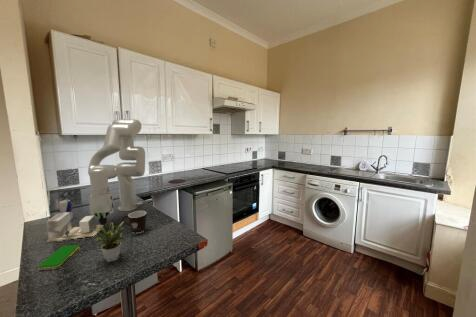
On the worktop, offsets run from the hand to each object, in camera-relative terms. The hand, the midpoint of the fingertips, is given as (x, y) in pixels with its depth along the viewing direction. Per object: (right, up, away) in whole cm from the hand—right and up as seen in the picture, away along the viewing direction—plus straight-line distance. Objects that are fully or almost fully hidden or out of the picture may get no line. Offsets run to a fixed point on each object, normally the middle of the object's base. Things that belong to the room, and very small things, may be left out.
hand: (103, 224), depth 108 cm
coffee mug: (+18, -4, 0) cm, 18 cm away
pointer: (-12, -3, -8) cm, 15 cm away
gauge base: (-12, -4, -3) cm, 12 cm away
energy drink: (-29, -2, +11) cm, 31 cm away
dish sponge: (-3, -8, -23) cm, 24 cm away
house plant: (+18, -8, -23) cm, 30 cm away
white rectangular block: (-7, -2, -3) cm, 8 cm away
